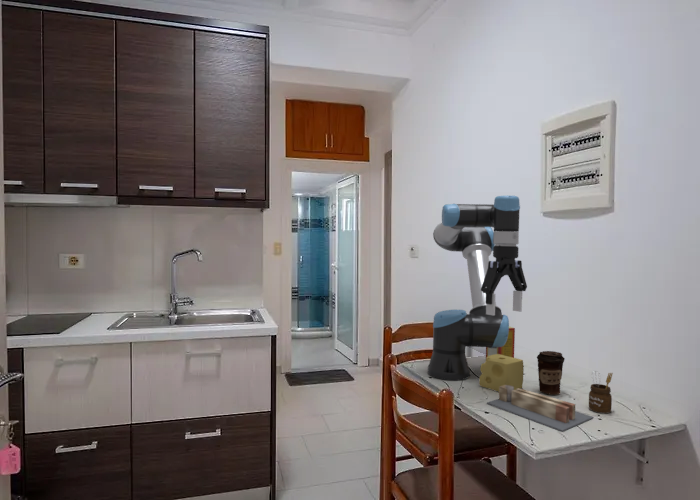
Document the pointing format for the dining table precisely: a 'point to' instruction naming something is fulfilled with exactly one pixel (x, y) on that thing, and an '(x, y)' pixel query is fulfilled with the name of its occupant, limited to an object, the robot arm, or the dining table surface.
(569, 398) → the dining table surface
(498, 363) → the cheese
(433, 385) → the dining table surface
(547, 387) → the coffee cup
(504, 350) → the baking soda box
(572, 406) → the tongs swing arm
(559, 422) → the mat
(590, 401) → the utensil holder
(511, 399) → the arm
